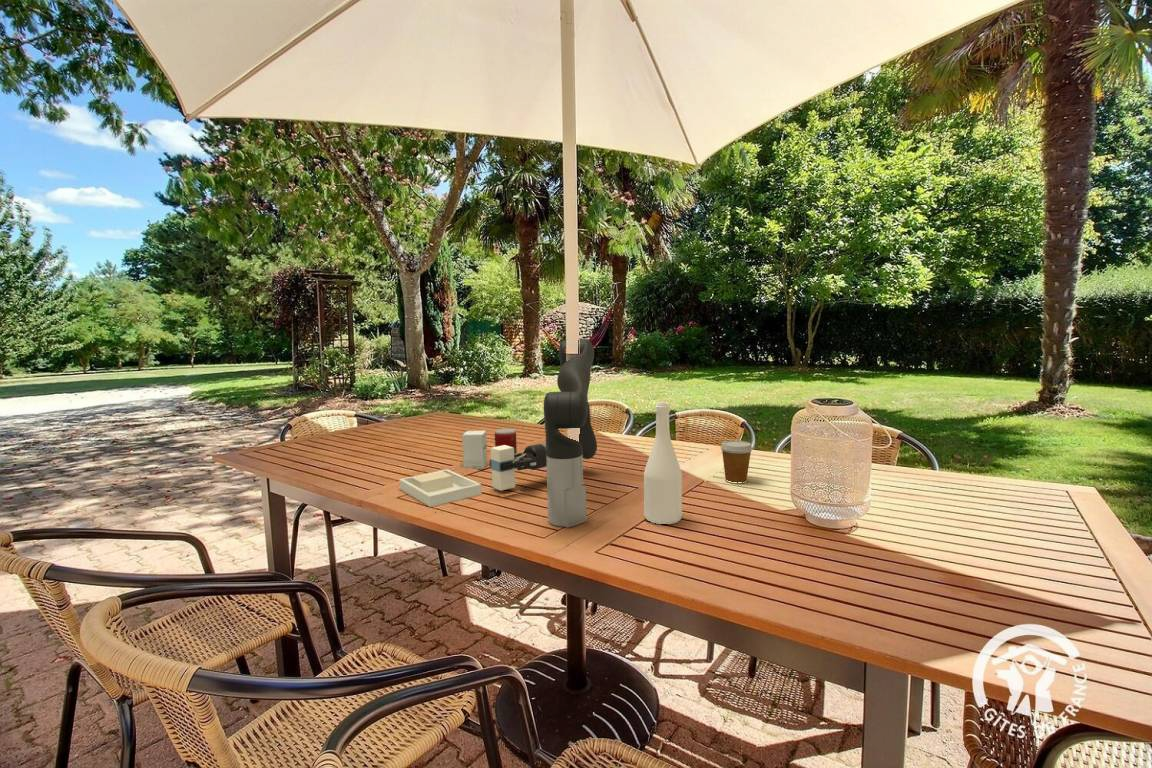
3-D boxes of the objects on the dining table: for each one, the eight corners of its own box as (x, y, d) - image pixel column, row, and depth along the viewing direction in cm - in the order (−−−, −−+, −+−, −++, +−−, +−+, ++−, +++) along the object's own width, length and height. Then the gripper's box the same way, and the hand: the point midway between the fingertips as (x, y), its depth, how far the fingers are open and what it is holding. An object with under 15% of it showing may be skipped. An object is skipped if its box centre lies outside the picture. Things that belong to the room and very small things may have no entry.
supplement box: (484, 470, 185) (482, 434, 184) (463, 470, 185) (461, 434, 184) (488, 464, 192) (486, 430, 191) (467, 464, 192) (466, 430, 191)
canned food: (515, 461, 195) (514, 432, 194) (494, 462, 195) (492, 432, 194) (518, 456, 203) (517, 428, 202) (497, 456, 203) (496, 428, 202)
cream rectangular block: (452, 486, 163) (452, 475, 163) (421, 493, 157) (421, 482, 156) (442, 481, 168) (442, 471, 168) (412, 488, 162) (411, 477, 162)
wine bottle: (659, 509, 142) (658, 399, 139) (689, 518, 136) (689, 402, 132) (636, 519, 136) (635, 403, 132) (667, 529, 129) (667, 407, 126)
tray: (481, 497, 155) (481, 484, 155) (430, 510, 145) (429, 496, 145) (448, 481, 172) (447, 469, 172) (399, 491, 162) (399, 479, 162)
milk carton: (515, 487, 158) (514, 447, 157) (501, 490, 155) (499, 450, 154) (506, 483, 162) (504, 444, 161) (492, 486, 159) (490, 447, 158)
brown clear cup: (718, 476, 171) (718, 439, 170) (748, 476, 170) (749, 440, 169) (722, 485, 162) (722, 446, 161) (754, 485, 161) (755, 447, 159)
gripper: (528, 440, 172) (482, 449, 161) (555, 447, 161) (507, 457, 150) (529, 463, 173) (483, 473, 162) (556, 471, 162) (508, 483, 151)
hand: (495, 465), depth 156 cm, fingers closed on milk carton, 5 cm apart
